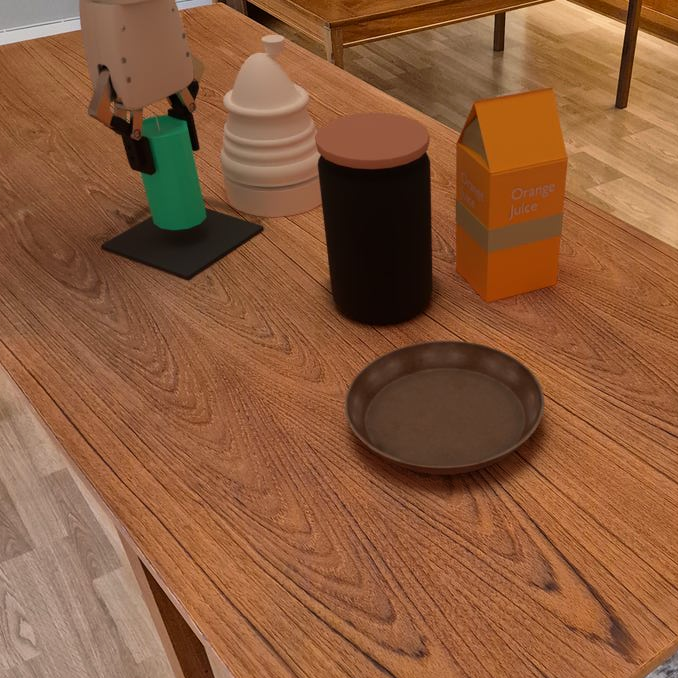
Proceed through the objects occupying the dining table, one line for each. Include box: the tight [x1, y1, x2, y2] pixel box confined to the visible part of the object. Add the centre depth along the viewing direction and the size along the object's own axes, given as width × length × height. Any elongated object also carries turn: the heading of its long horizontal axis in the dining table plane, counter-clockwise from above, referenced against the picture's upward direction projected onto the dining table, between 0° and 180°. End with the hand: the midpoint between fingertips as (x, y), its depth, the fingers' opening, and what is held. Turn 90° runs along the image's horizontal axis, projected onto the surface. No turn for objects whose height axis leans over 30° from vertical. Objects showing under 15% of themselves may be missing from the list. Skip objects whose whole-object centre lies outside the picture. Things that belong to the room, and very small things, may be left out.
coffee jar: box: [315, 111, 434, 327], centre depth 89 cm, size 11×11×18 cm
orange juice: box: [455, 87, 569, 304], centre depth 92 cm, size 8×9×20 cm
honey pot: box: [219, 34, 322, 218], centre depth 106 cm, size 13×13×18 cm
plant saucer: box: [344, 340, 545, 476], centre depth 80 cm, size 18×18×3 cm
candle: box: [140, 111, 206, 230], centre depth 97 cm, size 6×6×12 cm
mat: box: [100, 207, 265, 281], centre depth 103 cm, size 13×13×1 cm
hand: (165, 158), depth 97 cm, fingers closed on candle, 6 cm apart
